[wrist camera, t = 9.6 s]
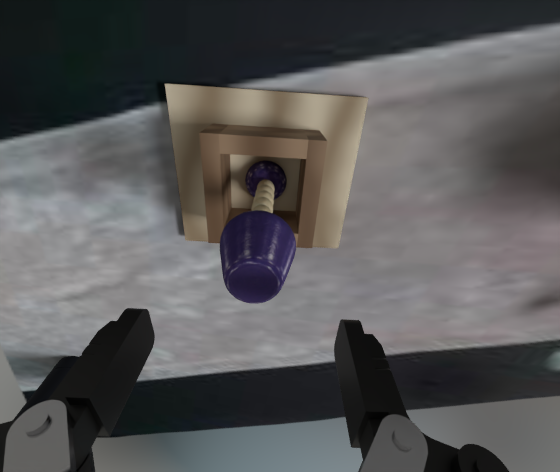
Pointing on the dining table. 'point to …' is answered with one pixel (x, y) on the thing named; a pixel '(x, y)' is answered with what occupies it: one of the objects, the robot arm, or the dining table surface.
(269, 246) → the toy lamp
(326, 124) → the socket board
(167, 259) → the dining table surface
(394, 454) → the robot arm
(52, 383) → the wine bottle
